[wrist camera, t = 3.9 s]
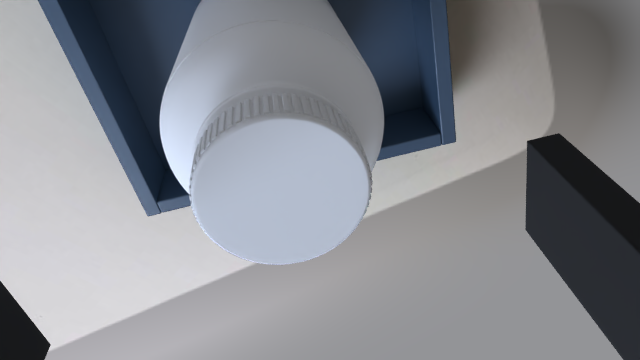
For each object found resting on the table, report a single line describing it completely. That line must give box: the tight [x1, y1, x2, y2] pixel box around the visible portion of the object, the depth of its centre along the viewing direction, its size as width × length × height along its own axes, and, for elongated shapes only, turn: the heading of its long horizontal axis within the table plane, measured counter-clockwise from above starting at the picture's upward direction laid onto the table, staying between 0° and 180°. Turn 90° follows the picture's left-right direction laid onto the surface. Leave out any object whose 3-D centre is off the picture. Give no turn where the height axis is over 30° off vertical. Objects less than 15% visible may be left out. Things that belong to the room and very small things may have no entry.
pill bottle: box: [160, 0, 384, 265], centre depth 21 cm, size 8×8×15 cm
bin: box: [38, 0, 456, 216], centre depth 26 cm, size 18×14×4 cm
